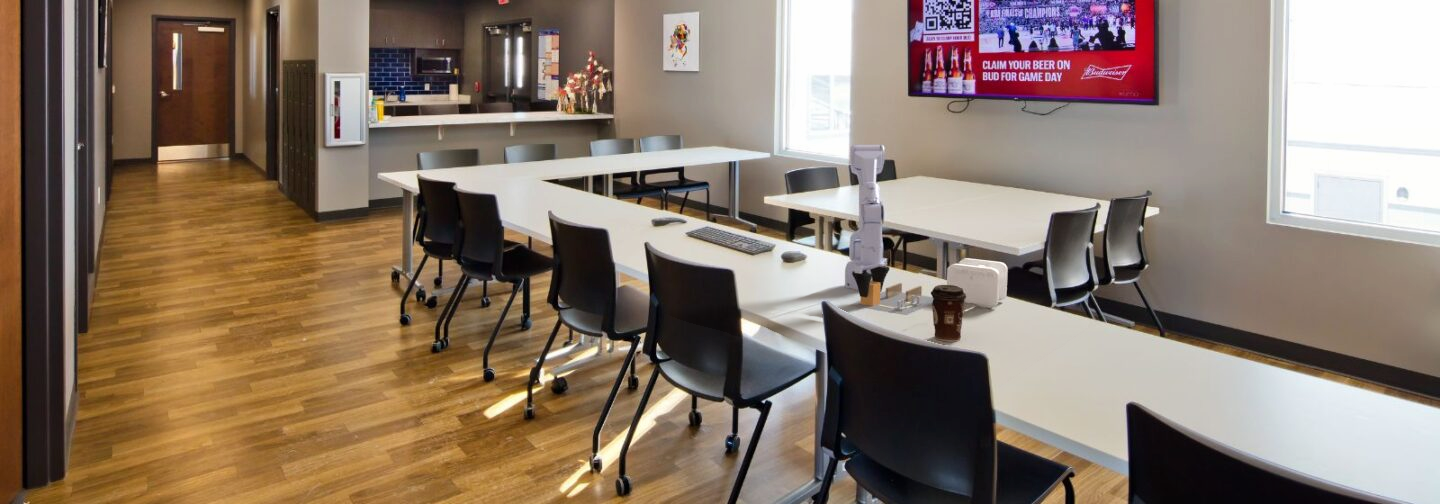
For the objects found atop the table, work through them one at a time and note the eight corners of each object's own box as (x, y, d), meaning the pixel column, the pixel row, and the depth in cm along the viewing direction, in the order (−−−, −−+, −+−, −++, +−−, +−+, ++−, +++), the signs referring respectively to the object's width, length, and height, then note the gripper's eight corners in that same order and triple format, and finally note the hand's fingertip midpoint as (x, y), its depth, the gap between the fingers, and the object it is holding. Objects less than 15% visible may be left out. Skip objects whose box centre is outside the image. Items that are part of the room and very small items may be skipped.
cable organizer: (1009, 302, 265) (1011, 263, 263) (995, 310, 257) (997, 269, 254) (959, 295, 274) (960, 257, 271) (944, 303, 266) (945, 263, 263)
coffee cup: (924, 340, 229) (926, 289, 227) (933, 332, 236) (935, 282, 234) (960, 344, 225) (962, 292, 223) (968, 336, 232) (970, 285, 230)
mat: (848, 308, 261) (849, 296, 260) (887, 293, 278) (887, 281, 277) (906, 318, 250) (906, 305, 249) (943, 302, 266) (943, 289, 266)
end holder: (885, 298, 268) (885, 288, 267) (899, 292, 274) (899, 283, 273) (908, 301, 263) (908, 291, 263) (921, 296, 269) (921, 286, 269)
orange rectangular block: (860, 303, 262) (860, 283, 261) (867, 301, 265) (868, 280, 264) (873, 306, 259) (873, 285, 258) (880, 303, 262) (880, 282, 261)
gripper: (870, 252, 251) (869, 301, 253) (896, 244, 262) (895, 291, 264) (848, 249, 255) (847, 297, 258) (874, 241, 266) (874, 287, 269)
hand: (870, 294), depth 261 cm, fingers open, 7 cm apart
